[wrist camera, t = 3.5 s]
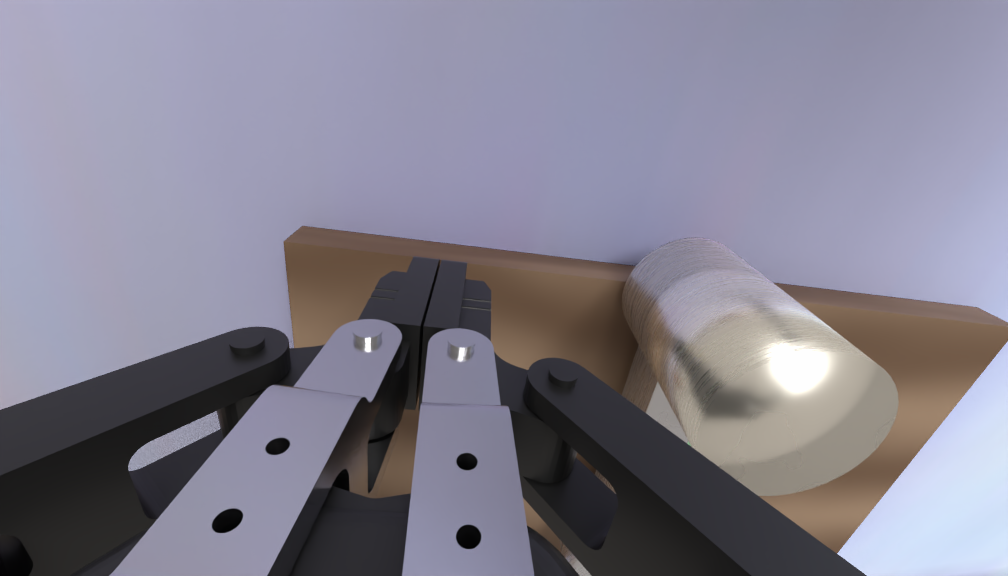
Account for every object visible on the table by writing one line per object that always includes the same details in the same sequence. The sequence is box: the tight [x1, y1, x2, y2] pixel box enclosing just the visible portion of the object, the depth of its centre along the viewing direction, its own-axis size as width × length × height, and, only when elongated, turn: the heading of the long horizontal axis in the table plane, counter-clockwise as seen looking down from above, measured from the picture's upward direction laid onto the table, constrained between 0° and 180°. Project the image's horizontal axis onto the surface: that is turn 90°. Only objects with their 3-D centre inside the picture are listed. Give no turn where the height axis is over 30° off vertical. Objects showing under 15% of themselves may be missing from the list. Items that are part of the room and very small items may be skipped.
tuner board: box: [284, 226, 1008, 554], centre depth 19 cm, size 16×26×2 cm, turn 82°
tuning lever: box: [560, 238, 899, 576], centre depth 14 cm, size 16×4×6 cm, turn 172°
